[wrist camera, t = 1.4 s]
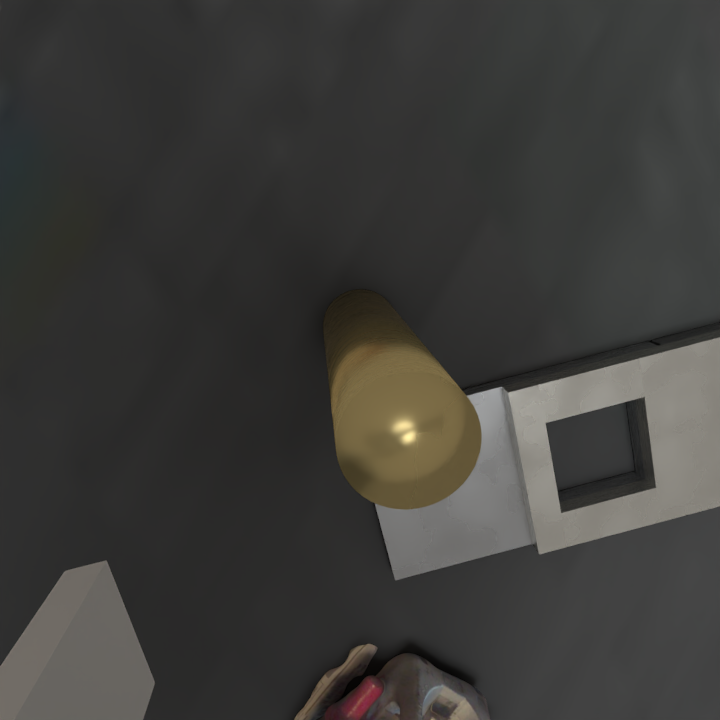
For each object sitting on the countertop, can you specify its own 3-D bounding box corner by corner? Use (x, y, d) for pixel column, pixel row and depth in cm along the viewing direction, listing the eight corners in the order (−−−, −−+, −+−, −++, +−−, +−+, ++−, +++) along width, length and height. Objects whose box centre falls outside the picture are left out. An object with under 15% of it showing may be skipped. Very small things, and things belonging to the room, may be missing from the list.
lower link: (392, 569, 33) (395, 580, 32) (352, 418, 30) (353, 425, 29) (666, 496, 33) (676, 505, 32) (647, 341, 31) (658, 345, 30)
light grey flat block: (525, 534, 33) (539, 554, 31) (495, 380, 30) (508, 392, 28) (796, 461, 33) (827, 477, 31) (787, 304, 31) (820, 311, 29)
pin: (333, 369, 30) (355, 525, 15) (314, 299, 29) (319, 393, 14) (403, 351, 30) (493, 488, 15) (387, 281, 29) (466, 354, 14)
